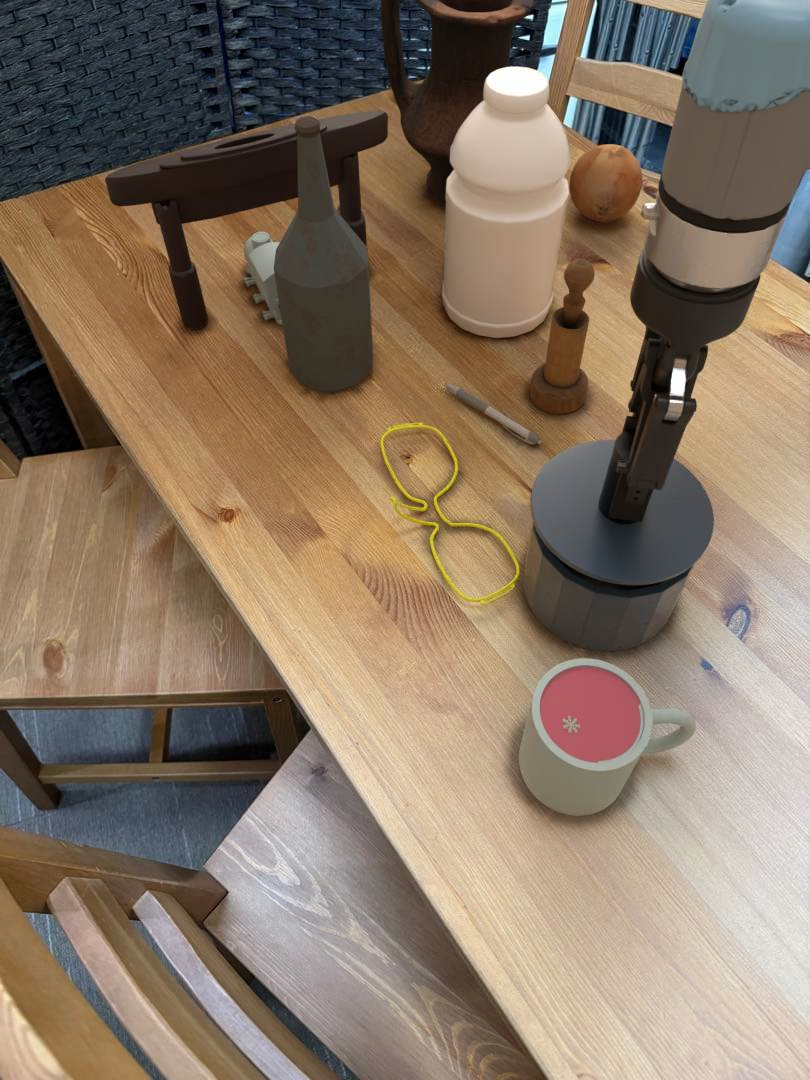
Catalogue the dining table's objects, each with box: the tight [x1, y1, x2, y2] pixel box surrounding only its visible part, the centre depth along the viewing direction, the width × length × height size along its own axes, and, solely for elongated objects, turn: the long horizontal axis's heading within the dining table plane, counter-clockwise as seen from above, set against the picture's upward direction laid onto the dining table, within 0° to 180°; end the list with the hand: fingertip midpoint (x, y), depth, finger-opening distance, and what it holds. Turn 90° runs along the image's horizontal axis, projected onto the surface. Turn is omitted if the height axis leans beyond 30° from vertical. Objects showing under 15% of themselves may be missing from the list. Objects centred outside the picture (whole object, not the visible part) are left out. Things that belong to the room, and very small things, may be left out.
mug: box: [518, 657, 697, 817], centre depth 69 cm, size 14×9×10 cm
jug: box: [380, 0, 539, 206], centre depth 113 cm, size 21×18×30 cm
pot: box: [522, 521, 695, 652], centre depth 80 cm, size 15×15×10 cm
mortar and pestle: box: [529, 258, 596, 415], centre depth 92 cm, size 7×6×18 cm
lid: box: [529, 429, 715, 585], centre depth 71 cm, size 16×16×9 cm
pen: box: [444, 383, 543, 445], centre depth 97 cm, size 1×14×1 cm, turn 48°
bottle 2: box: [441, 66, 572, 339], centre depth 98 cm, size 14×14×28 cm
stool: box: [104, 109, 389, 330], centre depth 103 cm, size 16×21×33 cm
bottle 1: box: [274, 115, 374, 395], centre depth 91 cm, size 10×10×30 cm
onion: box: [568, 143, 643, 223], centre depth 117 cm, size 10×10×10 cm
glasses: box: [379, 422, 521, 606], centre depth 87 cm, size 25×10×5 cm, turn 22°
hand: (626, 494), depth 72 cm, fingers closed on lid, 4 cm apart
